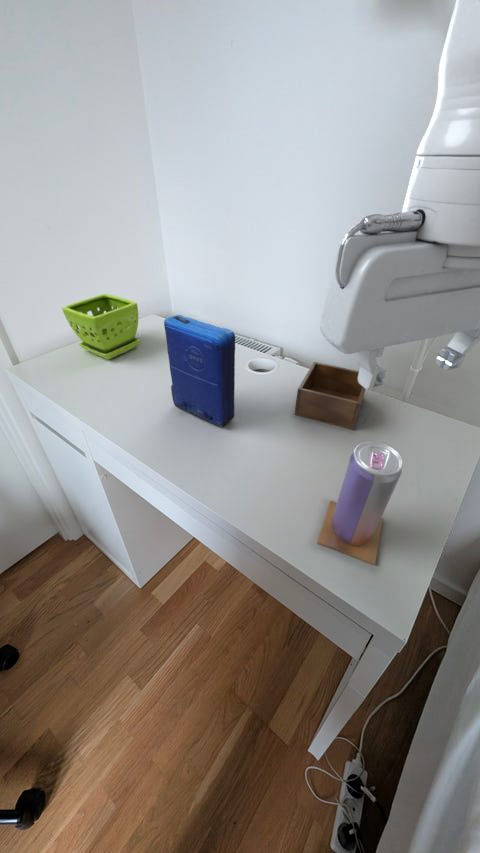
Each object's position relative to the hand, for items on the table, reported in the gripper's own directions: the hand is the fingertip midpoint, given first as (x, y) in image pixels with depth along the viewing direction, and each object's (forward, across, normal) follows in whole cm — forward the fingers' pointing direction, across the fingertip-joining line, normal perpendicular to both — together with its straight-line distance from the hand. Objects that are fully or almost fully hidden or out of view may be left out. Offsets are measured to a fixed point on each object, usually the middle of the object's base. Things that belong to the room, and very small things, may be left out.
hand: (409, 375), depth 33 cm
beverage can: (+26, 0, 0) cm, 26 cm away
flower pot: (+26, -29, +73) cm, 83 cm away
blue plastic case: (+27, -13, +36) cm, 46 cm away
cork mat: (+27, 0, 0) cm, 27 cm away
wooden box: (+27, +14, +28) cm, 41 cm away
